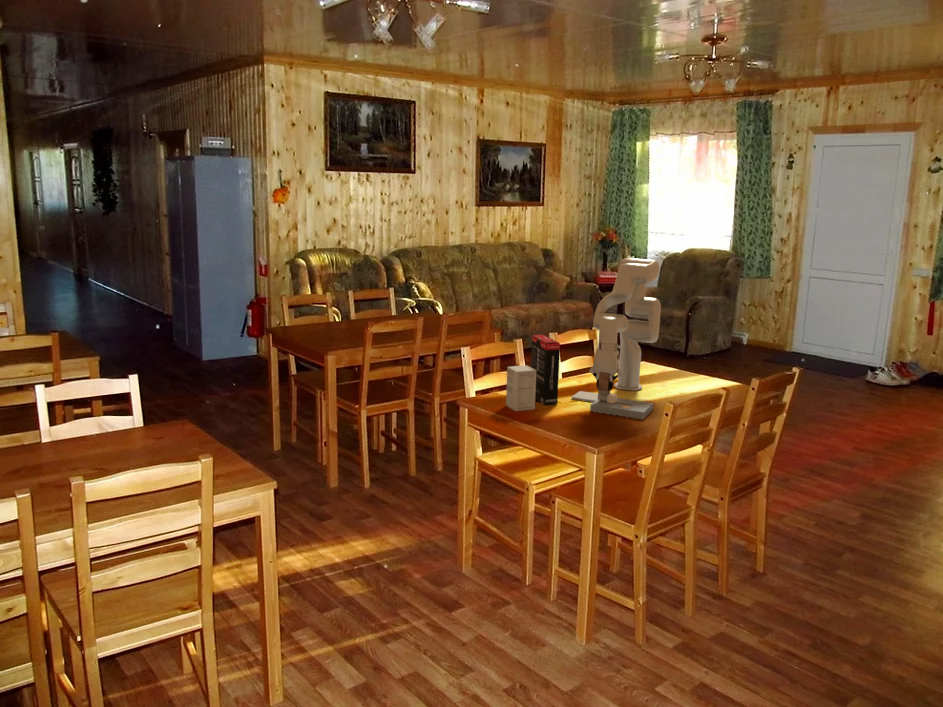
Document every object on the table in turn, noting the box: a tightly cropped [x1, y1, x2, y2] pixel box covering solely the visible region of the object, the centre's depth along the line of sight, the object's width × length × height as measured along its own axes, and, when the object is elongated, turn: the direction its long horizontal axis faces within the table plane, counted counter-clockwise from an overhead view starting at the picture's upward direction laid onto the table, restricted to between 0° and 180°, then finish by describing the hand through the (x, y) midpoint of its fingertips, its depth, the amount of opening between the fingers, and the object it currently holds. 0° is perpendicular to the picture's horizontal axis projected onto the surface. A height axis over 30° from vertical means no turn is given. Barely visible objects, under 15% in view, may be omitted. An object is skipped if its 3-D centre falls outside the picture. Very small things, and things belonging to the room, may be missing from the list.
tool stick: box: [597, 372, 611, 401], centre depth 334 cm, size 4×4×14 cm
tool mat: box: [570, 390, 598, 403], centre depth 351 cm, size 12×12×1 cm
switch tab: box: [607, 392, 618, 403], centre depth 333 cm, size 4×3×3 cm
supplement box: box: [505, 364, 536, 412], centre depth 331 cm, size 10×9×17 cm
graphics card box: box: [530, 334, 561, 406], centre depth 342 cm, size 17×7×27 cm, turn 18°
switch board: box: [589, 397, 654, 421], centre depth 332 cm, size 16×22×3 cm
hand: (604, 389), depth 334 cm, fingers closed on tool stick, 4 cm apart
